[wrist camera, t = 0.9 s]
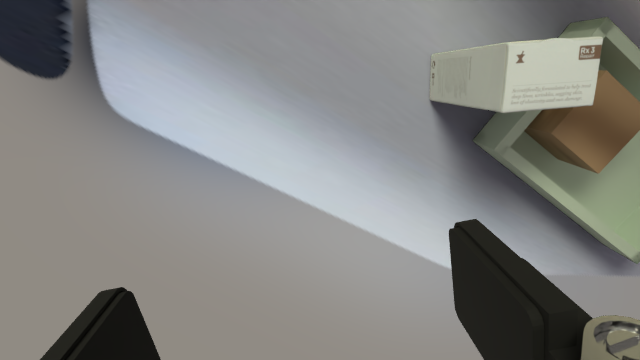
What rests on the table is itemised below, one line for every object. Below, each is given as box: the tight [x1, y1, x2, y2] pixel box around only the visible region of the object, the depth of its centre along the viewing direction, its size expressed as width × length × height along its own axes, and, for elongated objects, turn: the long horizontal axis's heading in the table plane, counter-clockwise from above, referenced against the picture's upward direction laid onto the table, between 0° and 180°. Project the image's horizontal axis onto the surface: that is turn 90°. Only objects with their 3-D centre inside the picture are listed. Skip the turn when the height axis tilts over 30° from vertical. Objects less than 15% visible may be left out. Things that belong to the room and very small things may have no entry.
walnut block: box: [524, 70, 640, 174], centre depth 31 cm, size 6×6×5 cm
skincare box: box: [430, 37, 603, 113], centre depth 27 cm, size 6×4×12 cm
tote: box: [473, 17, 640, 264], centre depth 34 cm, size 13×20×4 cm, turn 54°
